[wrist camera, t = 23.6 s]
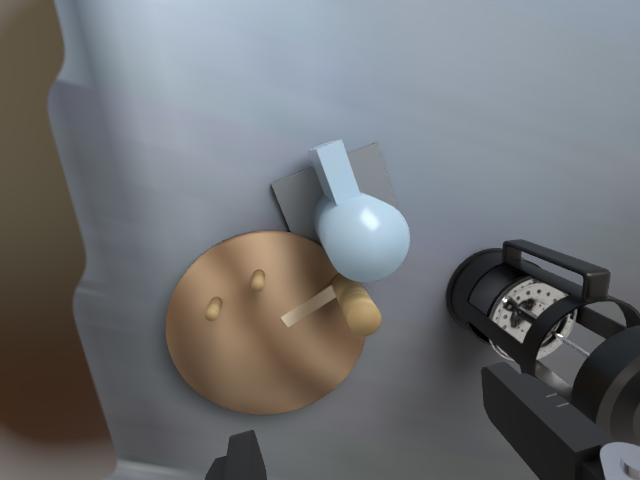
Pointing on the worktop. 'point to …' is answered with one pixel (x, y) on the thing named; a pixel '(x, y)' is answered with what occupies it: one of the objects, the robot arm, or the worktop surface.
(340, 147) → the pale blue carafe
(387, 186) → the slate mat
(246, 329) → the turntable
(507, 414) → the robot arm
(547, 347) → the french press
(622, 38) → the worktop surface
